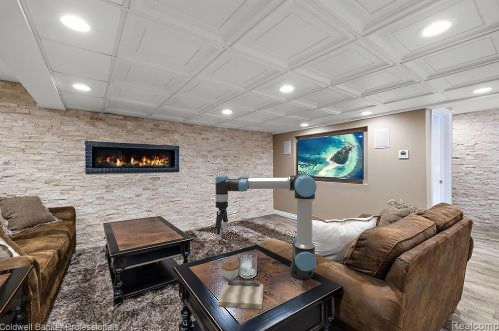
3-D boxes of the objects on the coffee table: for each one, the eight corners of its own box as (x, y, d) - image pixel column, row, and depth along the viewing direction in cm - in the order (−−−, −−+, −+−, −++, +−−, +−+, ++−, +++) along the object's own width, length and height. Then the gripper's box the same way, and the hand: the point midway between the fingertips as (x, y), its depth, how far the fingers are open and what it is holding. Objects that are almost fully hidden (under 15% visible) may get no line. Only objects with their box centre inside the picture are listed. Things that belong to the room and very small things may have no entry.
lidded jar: (236, 282, 135) (236, 267, 135) (219, 280, 137) (219, 265, 137) (240, 274, 145) (240, 259, 145) (225, 272, 147) (224, 258, 147)
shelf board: (263, 288, 128) (263, 280, 128) (261, 309, 110) (261, 299, 110) (225, 286, 130) (225, 279, 130) (218, 306, 112) (218, 297, 112)
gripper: (221, 197, 149) (221, 229, 149) (209, 204, 124) (209, 242, 124) (232, 197, 148) (232, 230, 148) (222, 204, 123) (222, 243, 123)
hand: (221, 235), depth 136 cm, fingers open, 13 cm apart
